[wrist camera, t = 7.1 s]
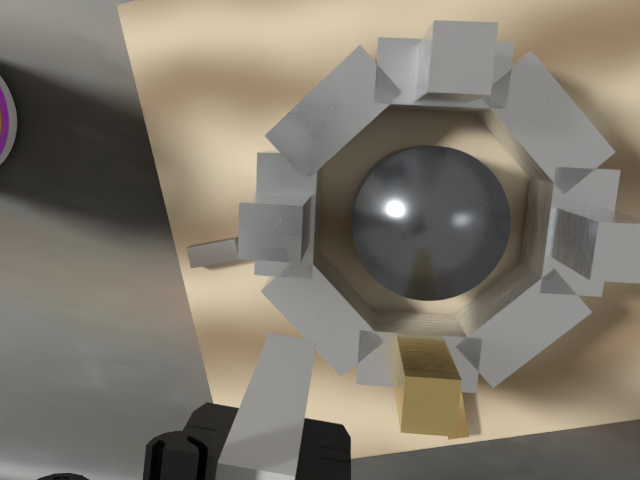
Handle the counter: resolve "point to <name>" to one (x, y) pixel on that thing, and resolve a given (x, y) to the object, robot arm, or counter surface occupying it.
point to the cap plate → (347, 173)
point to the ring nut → (501, 297)
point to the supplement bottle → (6, 121)
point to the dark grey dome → (430, 222)
